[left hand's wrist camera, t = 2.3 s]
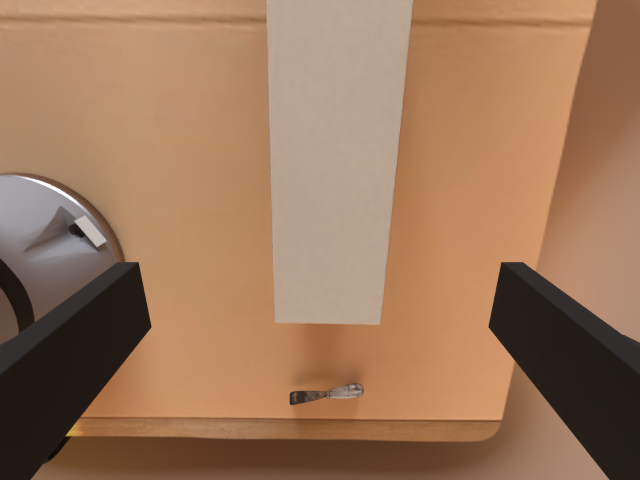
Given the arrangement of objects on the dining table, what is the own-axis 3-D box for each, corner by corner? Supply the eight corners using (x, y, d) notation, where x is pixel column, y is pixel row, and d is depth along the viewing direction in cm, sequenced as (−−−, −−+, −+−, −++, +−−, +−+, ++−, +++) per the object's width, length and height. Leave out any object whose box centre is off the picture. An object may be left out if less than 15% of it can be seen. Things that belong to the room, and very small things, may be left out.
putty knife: (363, 388, 37) (365, 400, 36) (291, 396, 38) (290, 409, 36) (362, 381, 37) (364, 392, 35) (289, 389, 37) (288, 401, 36)
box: (357, 247, 32) (380, 325, 20) (290, 245, 32) (274, 323, 20) (383, -137, 22) (455, -414, 11) (288, -140, 22) (255, -424, 11)
